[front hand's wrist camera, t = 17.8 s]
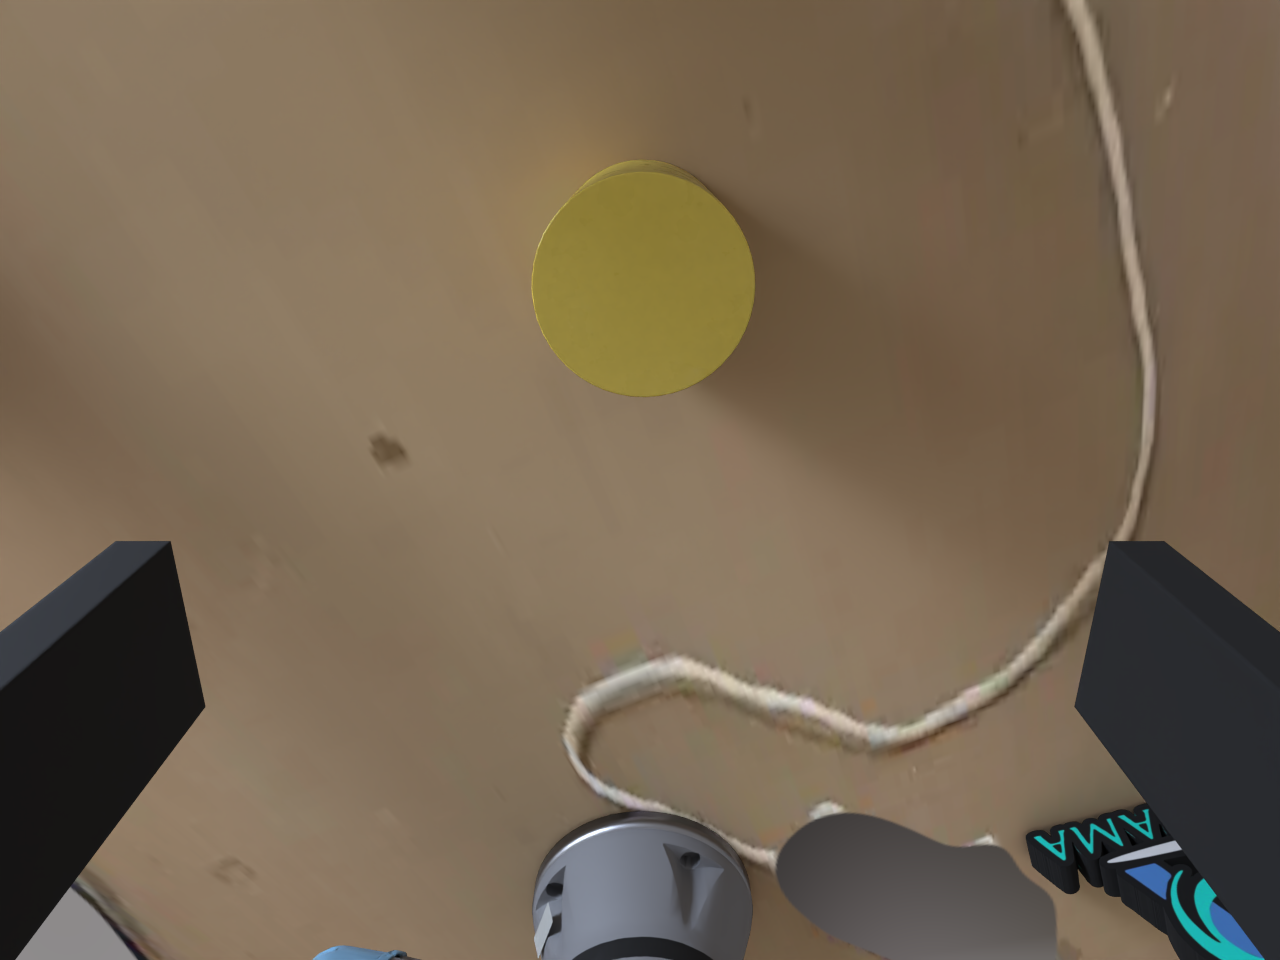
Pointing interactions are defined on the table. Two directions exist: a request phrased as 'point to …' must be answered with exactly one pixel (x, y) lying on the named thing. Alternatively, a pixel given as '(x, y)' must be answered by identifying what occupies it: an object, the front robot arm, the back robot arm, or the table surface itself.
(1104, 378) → the table surface
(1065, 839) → the decorative sign
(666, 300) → the can
